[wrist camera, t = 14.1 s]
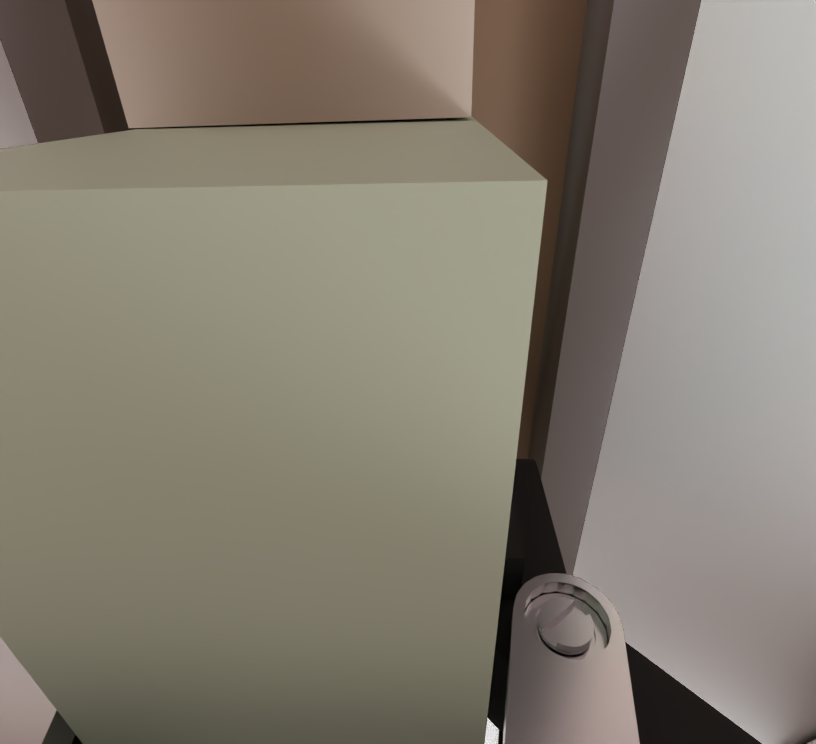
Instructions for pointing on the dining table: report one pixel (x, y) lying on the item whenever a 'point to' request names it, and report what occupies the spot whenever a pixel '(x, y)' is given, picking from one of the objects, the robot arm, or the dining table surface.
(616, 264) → the groove board
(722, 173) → the dining table surface
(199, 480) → the bar
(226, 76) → the chip
